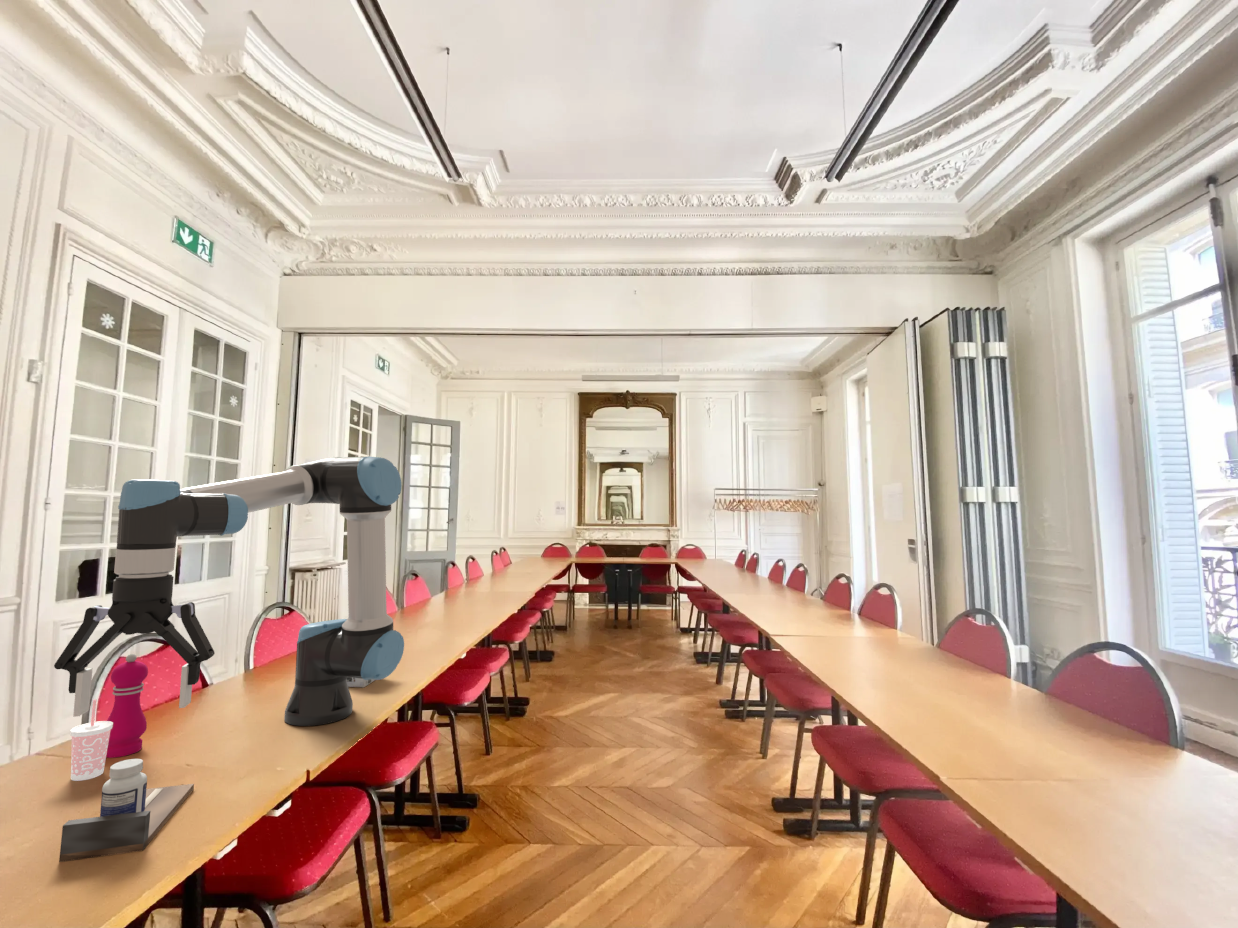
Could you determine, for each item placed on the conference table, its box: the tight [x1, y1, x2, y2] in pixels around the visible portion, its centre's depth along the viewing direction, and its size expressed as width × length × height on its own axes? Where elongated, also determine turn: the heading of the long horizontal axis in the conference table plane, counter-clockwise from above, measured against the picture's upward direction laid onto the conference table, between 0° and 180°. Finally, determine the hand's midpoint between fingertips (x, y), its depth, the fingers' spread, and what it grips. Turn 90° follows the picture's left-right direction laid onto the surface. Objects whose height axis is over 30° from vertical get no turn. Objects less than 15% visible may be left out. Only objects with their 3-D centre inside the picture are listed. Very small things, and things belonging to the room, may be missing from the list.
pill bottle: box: [99, 758, 148, 817], centre depth 90 cm, size 5×5×10 cm
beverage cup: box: [69, 698, 113, 782], centre depth 110 cm, size 6×6×14 cm
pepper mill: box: [106, 653, 149, 759], centre depth 121 cm, size 7×7×20 cm
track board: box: [58, 783, 195, 863], centre depth 94 cm, size 10×20×5 cm, turn 19°
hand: (134, 709), depth 92 cm, fingers open, 13 cm apart
